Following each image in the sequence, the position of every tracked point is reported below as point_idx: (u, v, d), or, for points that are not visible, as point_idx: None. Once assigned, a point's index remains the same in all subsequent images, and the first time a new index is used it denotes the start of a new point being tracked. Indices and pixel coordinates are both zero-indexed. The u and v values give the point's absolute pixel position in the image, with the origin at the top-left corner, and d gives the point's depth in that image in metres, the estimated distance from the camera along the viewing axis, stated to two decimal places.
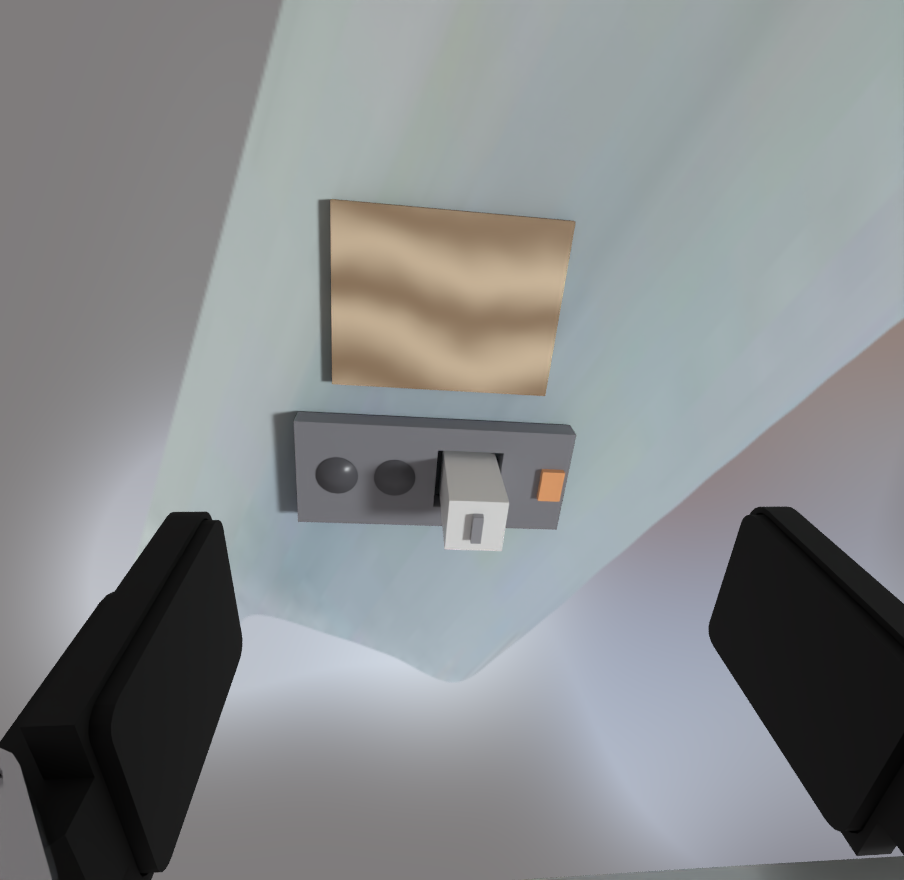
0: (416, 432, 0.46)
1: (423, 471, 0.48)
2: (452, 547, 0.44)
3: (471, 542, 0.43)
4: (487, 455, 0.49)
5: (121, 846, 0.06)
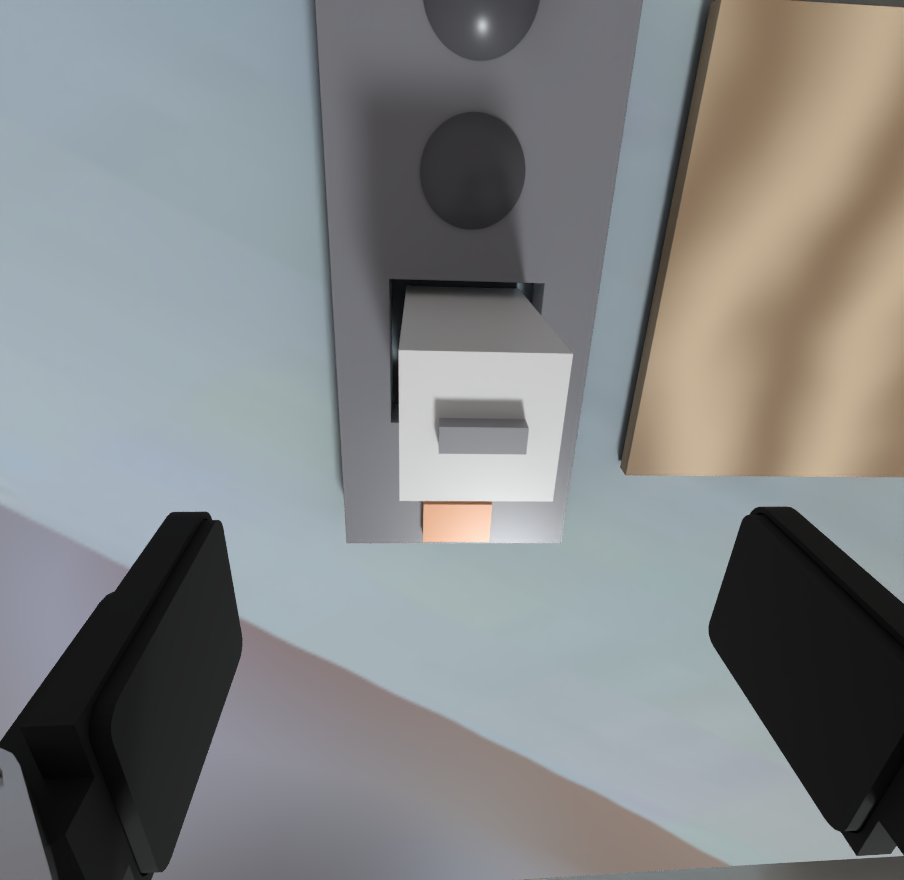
0: (595, 229, 0.20)
1: (488, 249, 0.20)
2: (405, 372, 0.14)
3: (443, 429, 0.15)
4: None
5: (121, 846, 0.06)
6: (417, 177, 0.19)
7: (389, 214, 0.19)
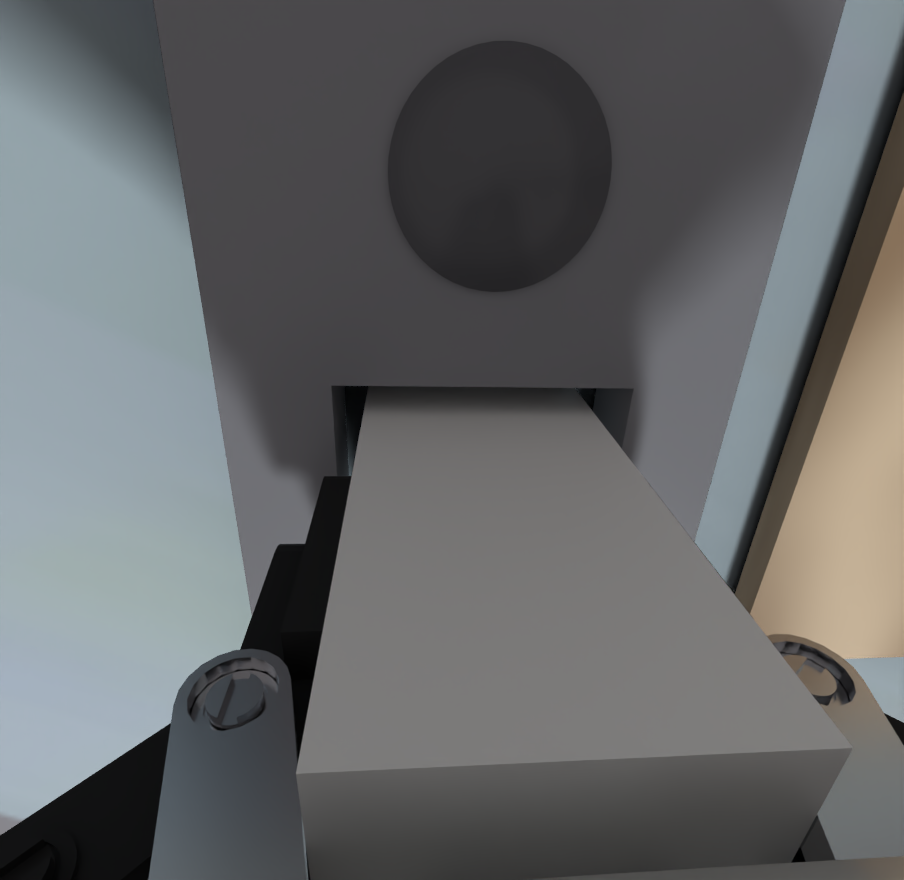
0: (739, 288, 0.10)
1: (528, 329, 0.10)
2: (323, 818, 0.05)
3: None
4: None
5: None
6: (382, 186, 0.09)
7: (326, 263, 0.09)
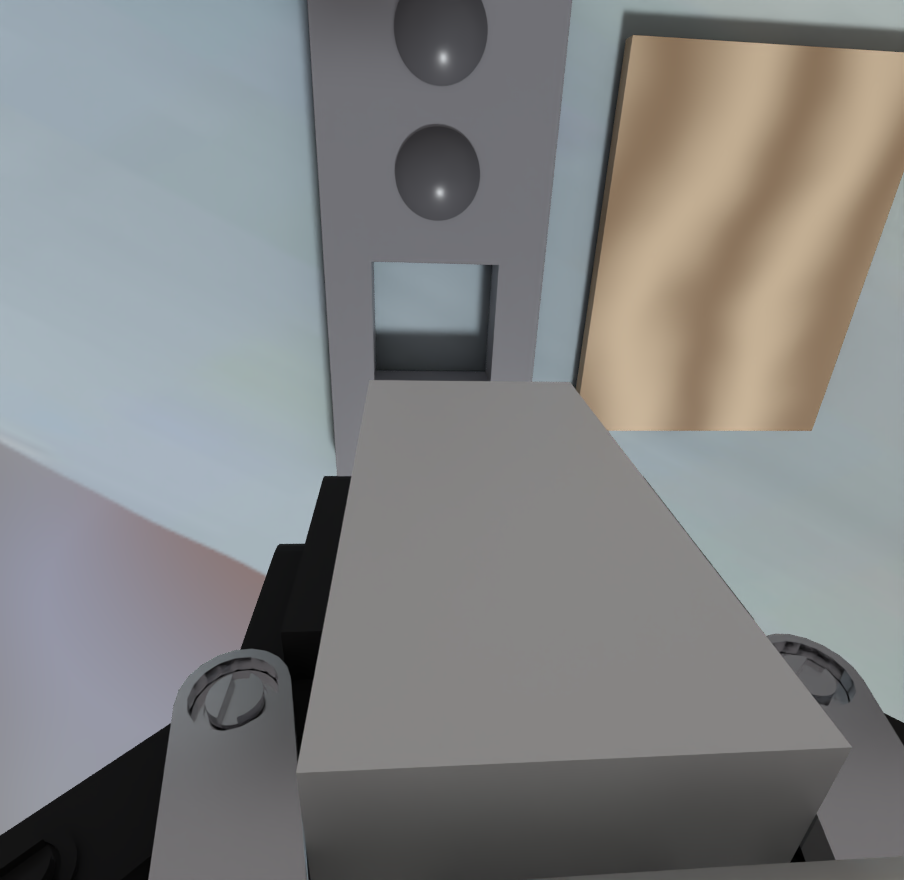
0: (538, 220, 0.24)
1: (452, 237, 0.24)
2: (322, 817, 0.05)
3: None
4: None
5: None
6: (393, 178, 0.23)
7: (370, 208, 0.24)
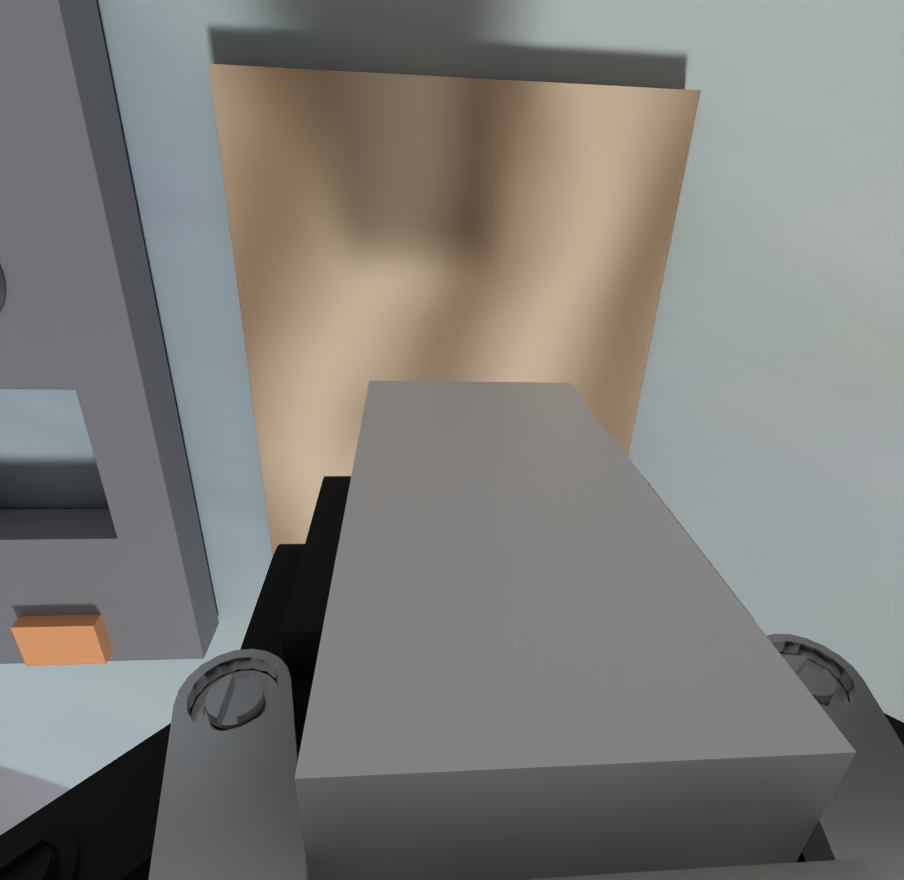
0: (114, 330, 0.17)
1: None
2: (321, 823, 0.04)
3: None
4: None
5: None
6: None
7: None
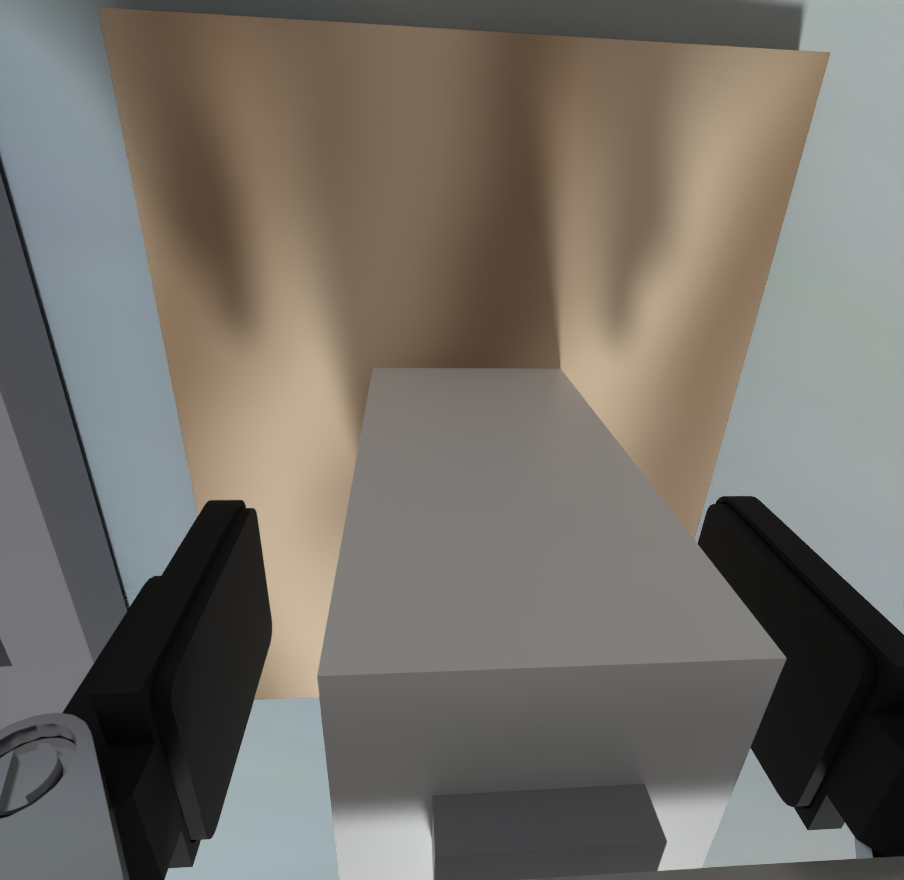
0: None
1: None
2: (338, 718, 0.05)
3: (444, 859, 0.06)
4: None
5: (175, 812, 0.07)
6: None
7: None
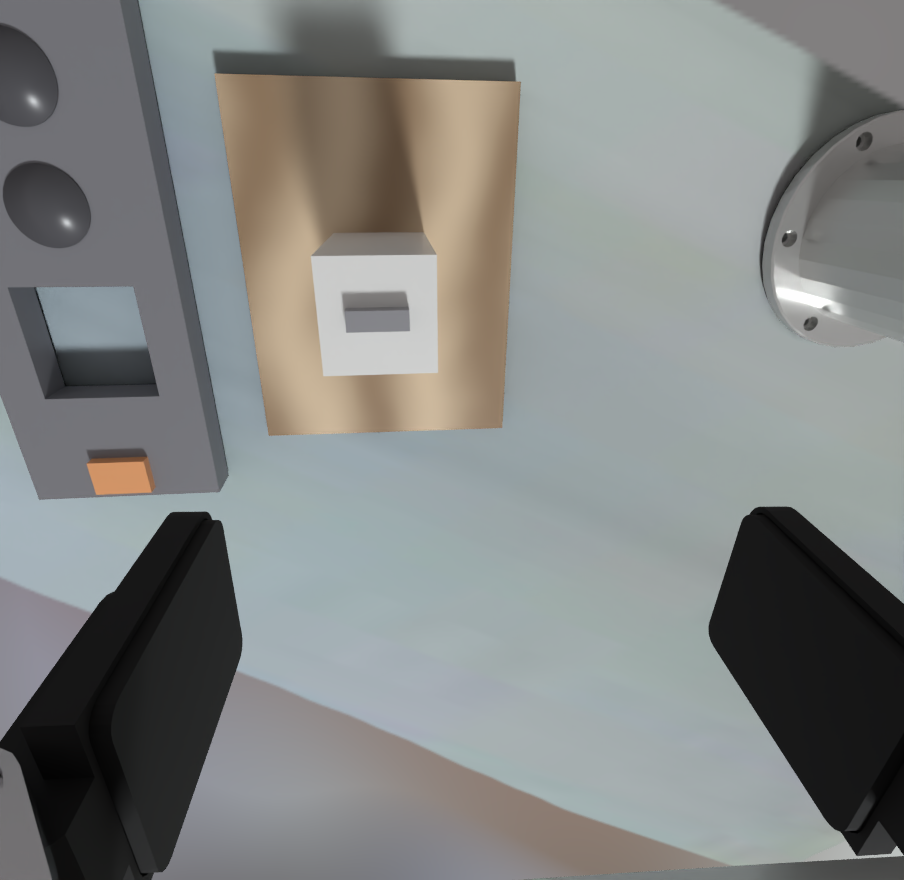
0: (158, 244, 0.26)
1: (79, 262, 0.26)
2: (316, 272, 0.20)
3: (347, 313, 0.20)
4: None
5: (121, 846, 0.06)
6: (5, 211, 0.25)
7: None
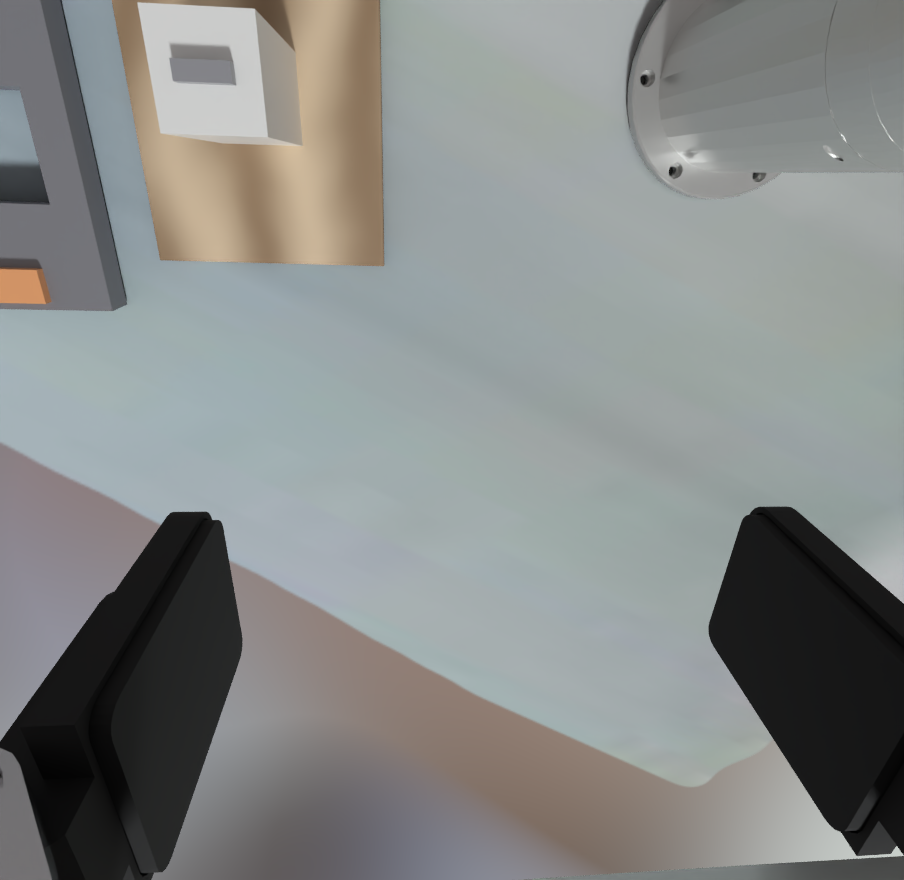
0: (40, 43, 0.29)
1: None
2: (144, 20, 0.22)
3: (171, 60, 0.22)
4: (297, 130, 0.31)
5: (121, 846, 0.06)
6: None
7: None
